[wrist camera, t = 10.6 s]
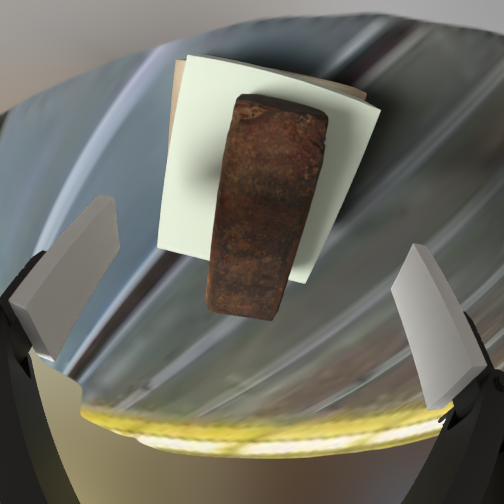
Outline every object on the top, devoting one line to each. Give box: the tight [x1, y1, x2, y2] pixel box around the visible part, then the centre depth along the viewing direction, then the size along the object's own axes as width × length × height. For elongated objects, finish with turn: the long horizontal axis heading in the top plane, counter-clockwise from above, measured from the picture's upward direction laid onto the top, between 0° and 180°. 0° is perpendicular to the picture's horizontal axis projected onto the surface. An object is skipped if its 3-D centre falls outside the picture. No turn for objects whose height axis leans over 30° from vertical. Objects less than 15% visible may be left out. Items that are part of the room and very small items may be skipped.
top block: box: [157, 55, 381, 284], centre depth 18 cm, size 10×12×4 cm
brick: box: [206, 94, 329, 321], centre depth 15 cm, size 11×4×5 cm, turn 170°
